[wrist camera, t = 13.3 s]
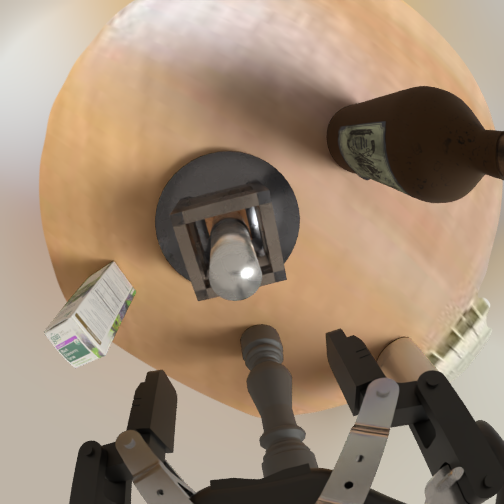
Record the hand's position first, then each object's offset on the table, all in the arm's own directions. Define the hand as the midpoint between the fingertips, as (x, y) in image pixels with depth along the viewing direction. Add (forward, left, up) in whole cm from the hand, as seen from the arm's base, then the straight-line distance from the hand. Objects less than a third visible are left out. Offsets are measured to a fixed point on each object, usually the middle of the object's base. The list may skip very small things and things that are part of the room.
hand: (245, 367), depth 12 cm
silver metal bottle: (0, 0, -23) cm, 23 cm away
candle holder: (-10, +17, -25) cm, 32 cm away
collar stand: (0, 0, -25) cm, 25 cm away
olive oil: (-13, -16, -25) cm, 33 cm away
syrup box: (+14, +13, -25) cm, 32 cm away
